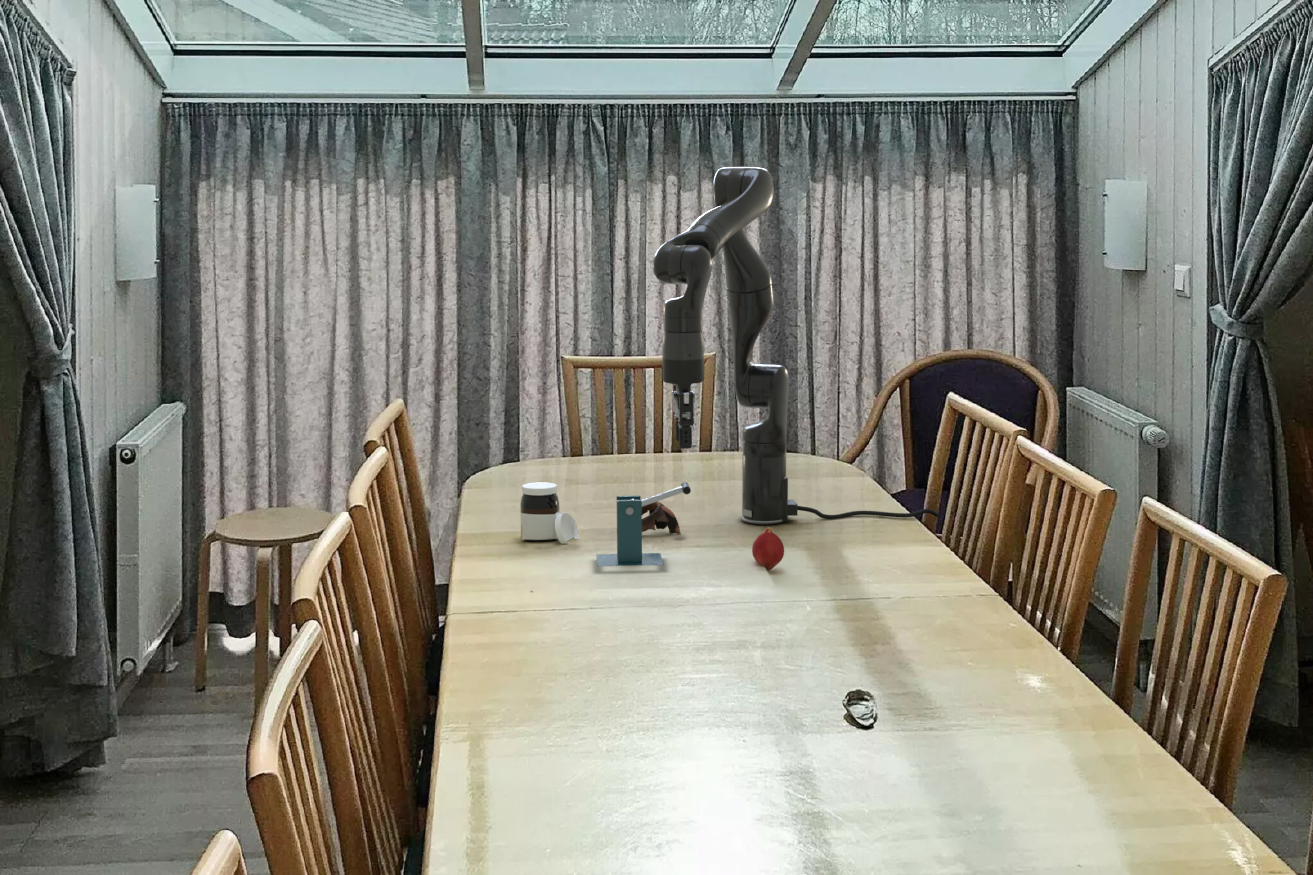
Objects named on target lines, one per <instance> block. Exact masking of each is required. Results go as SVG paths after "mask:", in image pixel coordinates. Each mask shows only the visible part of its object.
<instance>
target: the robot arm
mask: <svg viewBox="0 0 1313 875" xmlns="http://www.w3.org/2000/svg"><path fill="white" fill-rule="evenodd" d="M712 182H713V183H712V196H713V204H714V208H711V209H709V210H708V211H706V212H704V213H702V214H701V215H700V216H699V217H697V219H695V220H694V222H692V224H691V225H690V226H689V227H688V228H687V229H686V231H683V232H682V233H679V234H677V235H676V236H673V237H672V238H670V239H669V240H666V241H665V242H664V243H663V244H661V245H660V247H658V249H657V250H656V251H655V254H654V257H653V259H652V272H653V275H654V276H655V278H656V279H657V280H658V281H660V283H663V284H666V285H687V286H686V288H685V291H684V293H683V295H681V296H676V297H672V298H671V297H670V298H668V299H667V300H665V302H664V304H663V313H662V314H663V315H662V316H663V317H662V318H663V321H662V322H663V333H662V334H663V336H662V342H661V344H662V346H661V347H662V348H661V349H662V351H661V352H662V357H661V358H662V361H661V362H662V381H663V382H664V383H666V384H670V385H673V387H672V388H673V391H671V401H672V412H673V419H674V421H675V440H676V441H677V442H678V446H679V448H680V449H682V450H685V449H686V450H687V449H688V450H689V449H691V448H692V447H693V427H694V424H695V420H694V417H695V412H696V411H695V403H696V393H695V391H693V390H692V386H691V385H693V384H696V385H697V384H701V383H703V382H704V380H705V342H704V341H705V340H704V335H703V307H704V302H705V298H706V295H707V294H706V293H707V289H708V285H709V282H710V279H711V275H712V270H713V259H714V258H715V257H716V256H717V254H718V253H719V252H720V251H721V249H722V254H723V262H724V272H725V287H726V295H727V304H728V312H729V316H730V317H729V318H730V324H731V333H732V335H731V336H732V345H733V349H732V350H733V370H734V371H733V375H734V376H733V378H734V392H735V397H736V400H737V402H738V404H739V405H740V406H741V407H743V408H749V409H750V408H751V409H768V414H767V416H766V417H765V418H763V419H762V420H760V421H757V422H754V423H751V424H747V425H745V426H744V427H743V429H742V452H741V454H742V460H741V461H742V462H741V463H742V464H741V466H742V467H741V468H742V475H741V476H742V477H741V478H742V479H741V480H742V481H741V482H742V484H741V485H742V487H741V488H742V489H741V491H742V492H741V496H742V498H741V514H742V515H741V521H742V522H744V523H747V524H752V525H764V526H765V525H778V524H783V523H786V524H787V523H788V517H790V516H792V517H793V516H795V517H796V516H798V511H800V512H808V513H811V514H814V515H816V516H818V517H819V518H820V519H826V520H836V519H843V518H848V517H853V516H877V517H888V518H904V519H905V518H915V517H917V516H920V515H923V514H930V515H933V516H934V517H935V518H940V517H941V516H940V514H939V513H938V512H937V511H936V510H934V509H932V508H923V509H919V510H917V511H913V512H890V511H889V512H888V511H880V510H879V511H877V510H854V511H848V512H843V513H838V514H826V513H822V512H821V511H820V510H818V509H816V508H813V507H809V506H803V505H798V503H797V502H796V500H794V499H789V479H788V477H787V438H788V437H787V431H788V422H789V421H788V415H789V397H790V396H789V395H790V375H789V371H788V369H787V367H785V365H783V364H768V363H767V364H766V363H755V362H754V356H753V354H754V347H755V344H756V342H757V339H758V337H759V335H760V333H761V332H762V330H763V329H764V326H765V325H766V323H767V322H768V320H769V319H770V316H771V315H772V311H773V309H774V304H775V303H774V302H775V301H774V290H773V281H772V275H771V271H770V269H769V267H768V266H767V264H766V262H765V261H764V260H763V258H762V257H761V255H760V254H759V253H758V251H757V250H756V249H755V248H754V246H753V244H751V242H750V241H749V239H748V236H747V234H746V233H745V231H744V228H745V227H746V226H749V225H750V224H751V223H752V222H754V221H755V220H757V219H758V218H759V217H761V216H763V214H765V213H766V212H767V211H768V209H769V208H770V207H771V205H772V202H773V200H774V193H775V186H774V179H773V176H772V175H771V173H770V171H768V170H767V169H766V168H762V167H757V166H751V167H750V166H728V167H727V166H725V167H721V168H719V169H718V170H717V171H716V172H715V174H714V178H713V181H712Z"/></svg>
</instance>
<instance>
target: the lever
mask: <svg viewBox="0 0 1313 875" xmlns="http://www.w3.org/2000/svg"><path fill="white" fill-rule="evenodd" d="M691 491H692V489H691V487H690V485H689V483H688V482H687V481H682V482H681V483H680V486H678V487H675V488H672V489H669V490H666V491H664V492H661V493H657V494H655V495H651V496H649V497H646V498H644V499H641V500H642V506H645V505H648V504H651V503H654V502H657V501H658V502H660V501H663V500H665V499H668V498H672V497H675V496H677V495H679V494H682V493H683V494H684V495H689V494H690V493H691ZM630 500H634V498H633V499H630Z"/></svg>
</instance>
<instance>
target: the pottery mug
mask: <svg viewBox="0 0 1313 875" xmlns="http://www.w3.org/2000/svg"><path fill="white" fill-rule="evenodd" d="M647 513H648V515H647V516H645V517H642V533H644V532H646V531H649V530H651V531H657V530H665V529H666V528H668V533H669V534H670V535H672V534H676V535H680V536H681V535H682V533H681V529H680V525H679V524H680V523H679V522H678V519H677V517H676V515H675V514H674V512H673V511H672V509H670V508H668V507H667V506H666V505H664V504H663V503H662V502H660V501H657V502H654V503H651V504H648V505H645V506H642V516H644V514H647Z"/></svg>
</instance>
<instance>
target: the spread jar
mask: <svg viewBox="0 0 1313 875" xmlns="http://www.w3.org/2000/svg"><path fill="white" fill-rule="evenodd" d="M521 492H522V493H521V494H522V496H521V499H520V510H519V511H520V539H521V540H522V541H523V542H524V543H525V542H526V543H552V542H557V541H559V543H560V544H561V545H569V544H570V543H569V542H568V541H570V540H571V539H575V540H576V539H577V540H579V528H578V525H577V523H576V520H575V518H574V517H573V516H572V515H571V513H569V512H567V511H564V512H561V513H560V499H559V496H558V494H557V493H558V484H556V483H554V482H545V481H544V482H543V481H538V482H528V483H524V484H522V485H521Z"/></svg>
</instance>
